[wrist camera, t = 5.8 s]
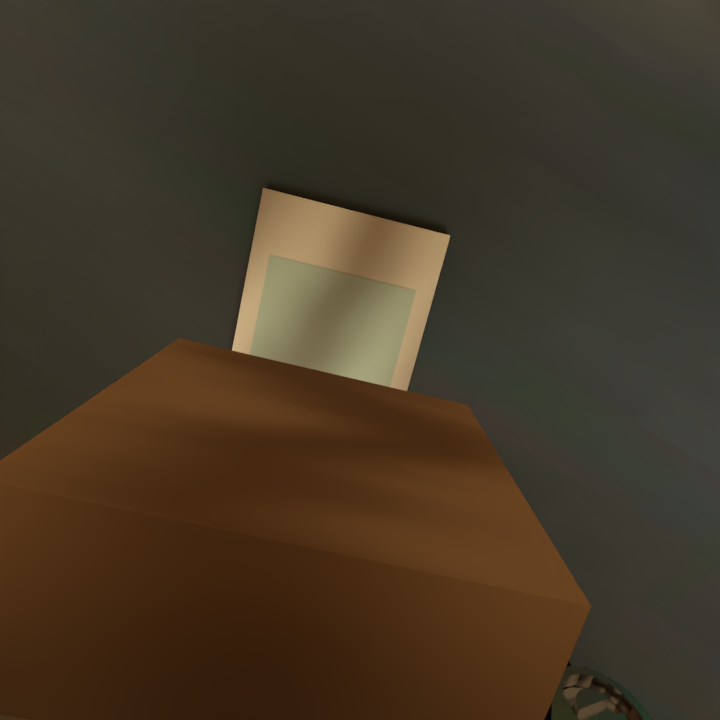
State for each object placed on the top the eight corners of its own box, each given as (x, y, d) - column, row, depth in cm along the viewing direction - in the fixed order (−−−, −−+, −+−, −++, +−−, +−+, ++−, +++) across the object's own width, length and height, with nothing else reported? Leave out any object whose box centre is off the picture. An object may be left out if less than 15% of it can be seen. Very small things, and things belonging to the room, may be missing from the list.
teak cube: (467, 404, 11) (591, 606, 5) (394, 641, 13) (427, 999, 7) (179, 338, 11) (-26, 478, 5) (137, 590, 12) (-59, 927, 6)
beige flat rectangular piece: (447, 234, 26) (450, 235, 25) (381, 472, 29) (382, 479, 29) (265, 188, 26) (263, 187, 25) (218, 436, 29) (214, 442, 28)
